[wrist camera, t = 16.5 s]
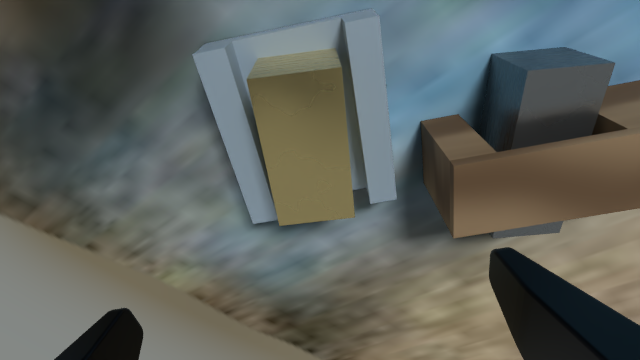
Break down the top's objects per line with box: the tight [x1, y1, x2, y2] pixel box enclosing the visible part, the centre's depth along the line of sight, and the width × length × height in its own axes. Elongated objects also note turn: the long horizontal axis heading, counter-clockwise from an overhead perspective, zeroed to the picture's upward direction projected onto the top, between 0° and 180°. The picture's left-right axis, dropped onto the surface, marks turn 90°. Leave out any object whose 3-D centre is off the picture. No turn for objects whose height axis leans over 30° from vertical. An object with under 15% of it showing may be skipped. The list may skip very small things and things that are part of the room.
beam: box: [421, 80, 640, 238], centre depth 18 cm, size 4×12×5 cm, turn 101°
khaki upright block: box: [246, 48, 355, 226], centre depth 17 cm, size 7×4×4 cm, turn 7°
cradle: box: [192, 9, 397, 224], centre depth 18 cm, size 9×8×3 cm
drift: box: [479, 47, 615, 238], centre depth 19 cm, size 9×4×4 cm, turn 5°
